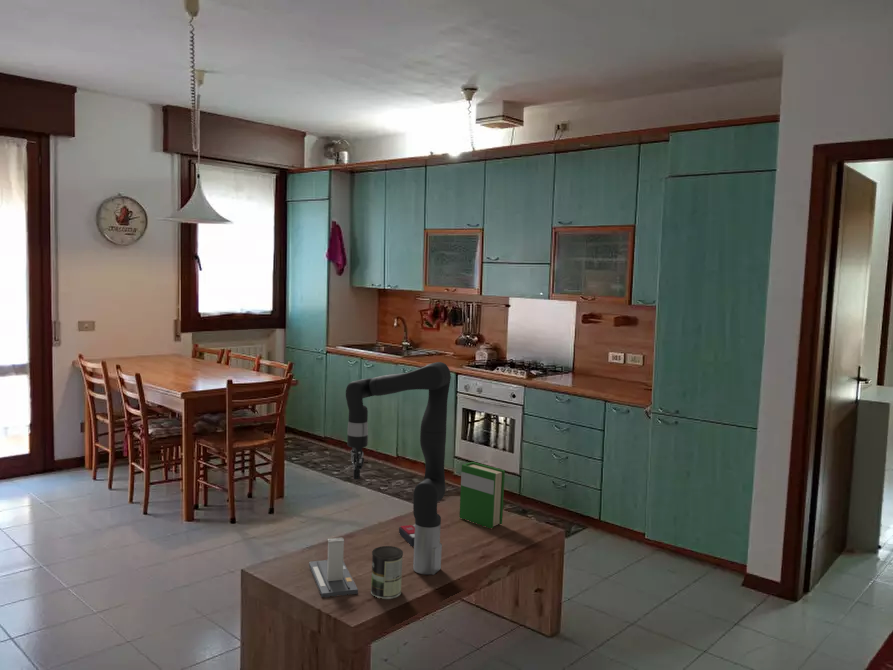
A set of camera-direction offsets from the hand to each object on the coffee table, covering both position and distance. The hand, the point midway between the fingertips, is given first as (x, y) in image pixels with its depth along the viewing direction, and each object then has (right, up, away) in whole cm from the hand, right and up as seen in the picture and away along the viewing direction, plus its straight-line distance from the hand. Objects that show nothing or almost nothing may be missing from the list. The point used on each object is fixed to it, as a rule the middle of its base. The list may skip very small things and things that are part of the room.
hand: (356, 478), depth 272 cm
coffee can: (+13, -33, -28) cm, 45 cm away
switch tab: (-4, -29, -24) cm, 38 cm away
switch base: (-6, -31, -20) cm, 37 cm away
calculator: (+22, -29, +21) cm, 42 cm away
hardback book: (+48, -27, +42) cm, 70 cm away
